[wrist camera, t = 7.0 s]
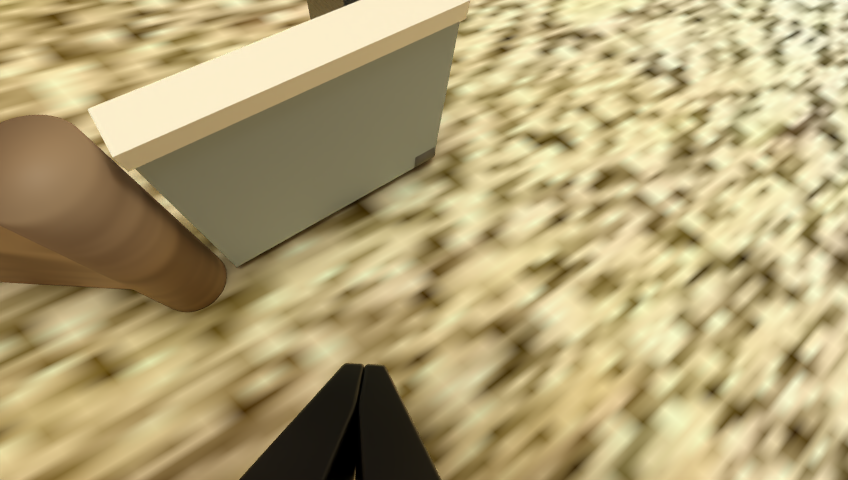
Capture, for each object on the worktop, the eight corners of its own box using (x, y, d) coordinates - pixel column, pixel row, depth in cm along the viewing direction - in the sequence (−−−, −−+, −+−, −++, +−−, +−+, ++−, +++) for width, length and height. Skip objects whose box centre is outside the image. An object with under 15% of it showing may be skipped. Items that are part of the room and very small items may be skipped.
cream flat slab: (238, 274, 20) (112, 157, 11) (221, 244, 20) (86, 109, 11) (436, 161, 23) (470, 0, 14) (418, 138, 24) (438, -32, 14)
